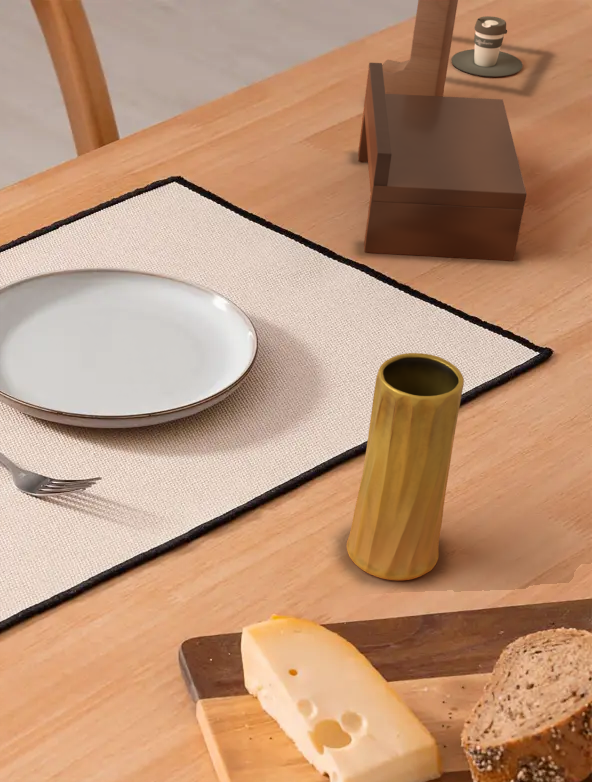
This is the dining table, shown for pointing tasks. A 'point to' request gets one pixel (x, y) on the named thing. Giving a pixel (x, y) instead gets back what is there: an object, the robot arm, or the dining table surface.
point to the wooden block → (424, 52)
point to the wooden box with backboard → (439, 175)
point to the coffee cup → (487, 51)
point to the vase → (406, 467)
